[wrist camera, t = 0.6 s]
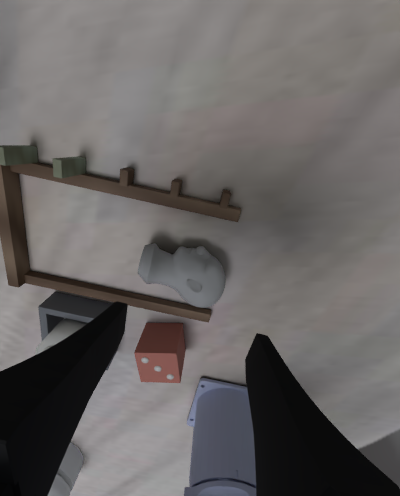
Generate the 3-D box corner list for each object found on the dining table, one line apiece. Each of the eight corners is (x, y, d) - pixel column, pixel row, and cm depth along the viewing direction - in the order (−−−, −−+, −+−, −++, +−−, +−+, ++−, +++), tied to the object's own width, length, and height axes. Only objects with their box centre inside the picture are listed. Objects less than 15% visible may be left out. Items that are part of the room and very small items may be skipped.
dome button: (100, 356, 25) (84, 384, 22) (57, 347, 25) (35, 374, 22) (101, 323, 23) (84, 349, 20) (55, 313, 23) (30, 337, 20)
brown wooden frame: (209, 317, 24) (207, 340, 21) (21, 276, 24) (-6, 294, 21) (244, 194, 19) (249, 203, 16) (2, 139, 19) (-38, 138, 16)
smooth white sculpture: (231, 259, 23) (207, 303, 23) (159, 221, 22) (134, 268, 22) (244, 270, 19) (213, 324, 19) (154, 223, 17) (124, 282, 18)
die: (185, 350, 27) (180, 383, 23) (151, 349, 27) (140, 382, 23) (182, 323, 25) (176, 354, 21) (146, 322, 25) (134, 353, 22)
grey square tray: (116, 351, 27) (107, 370, 25) (58, 339, 27) (43, 357, 25) (120, 305, 25) (109, 322, 22) (55, 291, 24) (38, 306, 22)
